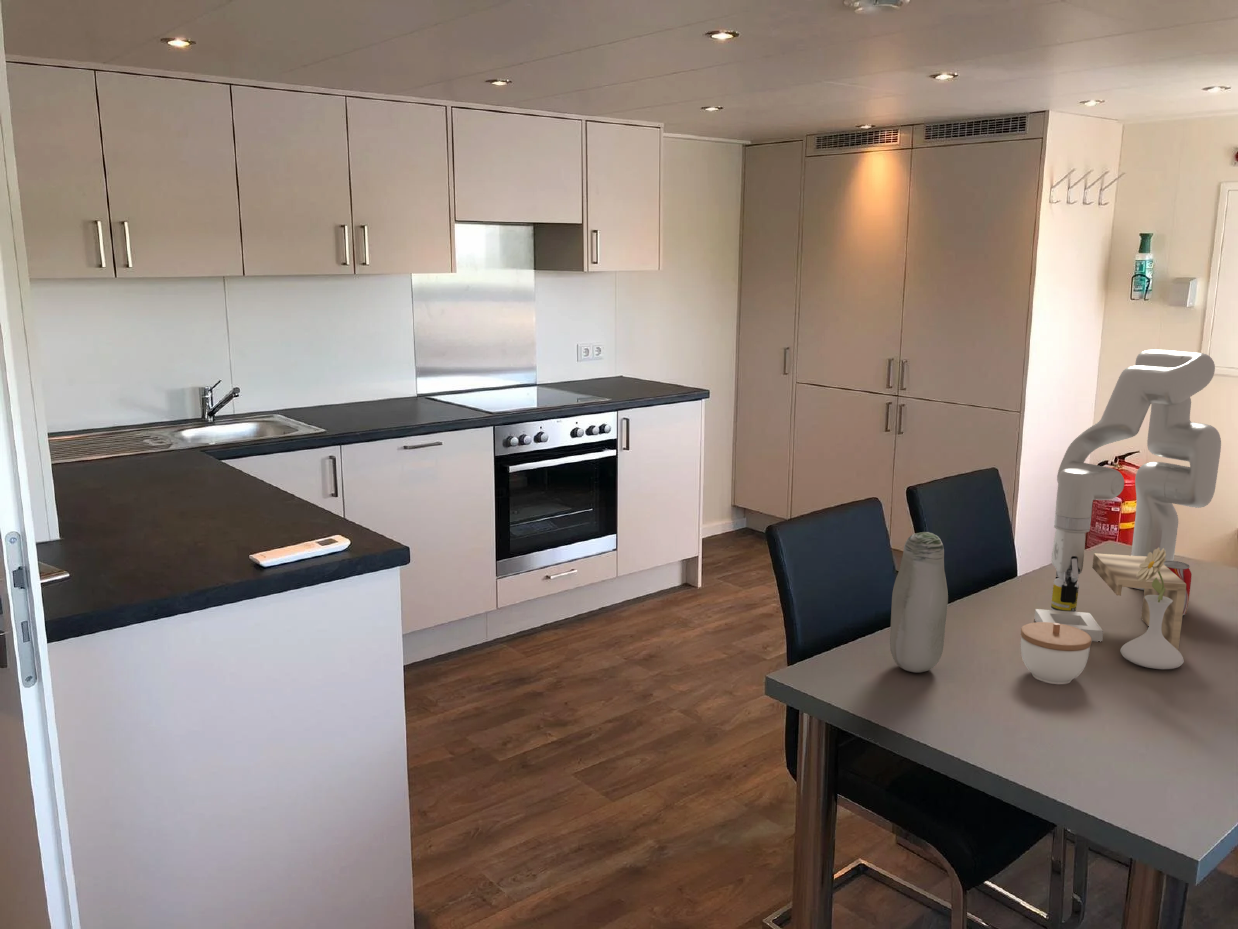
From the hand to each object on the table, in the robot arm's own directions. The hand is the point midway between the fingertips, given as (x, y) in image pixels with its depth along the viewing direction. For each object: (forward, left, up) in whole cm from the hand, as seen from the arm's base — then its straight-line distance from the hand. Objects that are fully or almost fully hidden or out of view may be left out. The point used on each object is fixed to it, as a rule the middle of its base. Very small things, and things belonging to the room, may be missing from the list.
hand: (1064, 597), depth 229 cm
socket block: (+13, -2, -3) cm, 14 cm away
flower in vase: (+30, +10, -4) cm, 32 cm away
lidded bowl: (+41, -11, -4) cm, 43 cm away
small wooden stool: (+11, +12, -4) cm, 16 cm away
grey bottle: (+43, -37, -4) cm, 57 cm away
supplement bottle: (0, 0, -4) cm, 4 cm away
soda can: (-4, +24, -4) cm, 25 cm away
